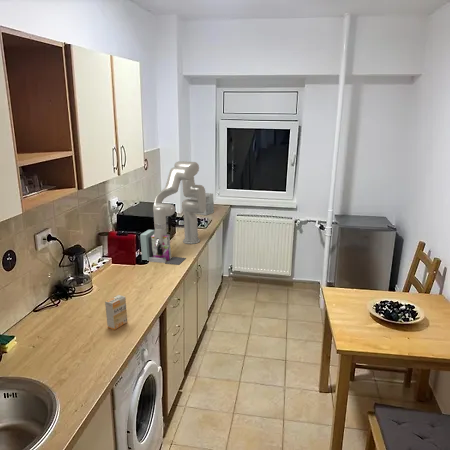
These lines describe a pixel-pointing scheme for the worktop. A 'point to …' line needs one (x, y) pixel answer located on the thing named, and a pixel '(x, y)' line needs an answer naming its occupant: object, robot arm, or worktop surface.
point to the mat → (175, 260)
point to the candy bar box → (165, 248)
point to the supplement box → (116, 312)
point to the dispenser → (148, 247)
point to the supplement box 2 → (208, 204)
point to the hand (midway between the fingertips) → (162, 252)
